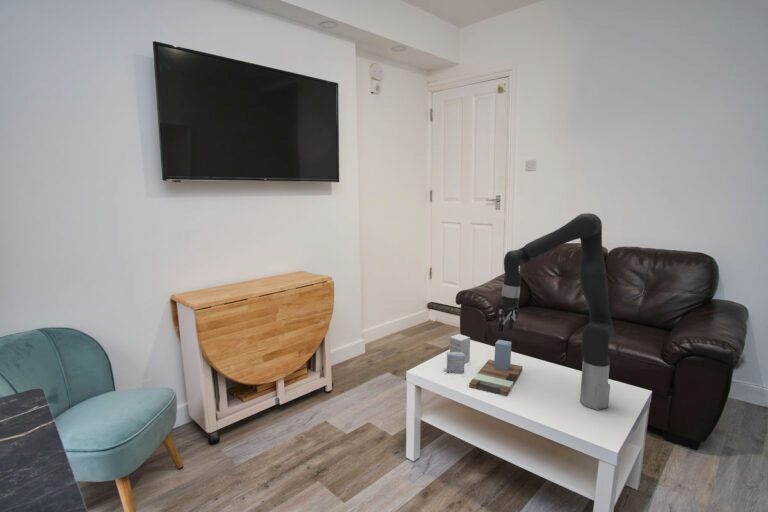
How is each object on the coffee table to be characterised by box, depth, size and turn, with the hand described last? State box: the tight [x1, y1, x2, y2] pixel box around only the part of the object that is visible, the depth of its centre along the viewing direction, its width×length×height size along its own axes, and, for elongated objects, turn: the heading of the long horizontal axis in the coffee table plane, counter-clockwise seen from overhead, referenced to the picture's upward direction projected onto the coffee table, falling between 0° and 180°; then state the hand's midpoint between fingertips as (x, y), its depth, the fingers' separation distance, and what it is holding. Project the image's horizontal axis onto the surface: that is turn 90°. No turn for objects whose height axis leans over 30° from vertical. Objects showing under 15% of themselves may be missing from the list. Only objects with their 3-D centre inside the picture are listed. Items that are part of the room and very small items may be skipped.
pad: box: [472, 373, 514, 392], centre depth 175 cm, size 6×16×2 cm, turn 60°
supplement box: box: [449, 333, 471, 364], centre depth 200 cm, size 7×7×13 cm
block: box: [494, 339, 512, 371], centre depth 188 cm, size 6×6×12 cm
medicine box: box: [446, 351, 465, 374], centre depth 188 cm, size 8×4×9 cm, turn 84°
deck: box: [468, 359, 524, 397], centre depth 181 cm, size 30×16×2 cm, turn 150°
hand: (505, 330), depth 179 cm, fingers open, 8 cm apart
